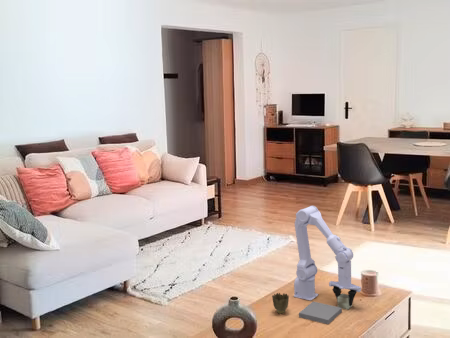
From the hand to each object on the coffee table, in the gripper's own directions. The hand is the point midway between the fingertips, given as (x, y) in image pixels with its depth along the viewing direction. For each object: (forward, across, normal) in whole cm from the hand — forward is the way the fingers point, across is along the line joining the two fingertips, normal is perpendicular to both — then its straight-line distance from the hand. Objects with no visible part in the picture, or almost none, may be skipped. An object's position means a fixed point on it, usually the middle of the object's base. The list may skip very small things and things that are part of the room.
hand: (345, 303), depth 237 cm
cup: (+2, -22, -20) cm, 30 cm away
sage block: (+1, 0, 0) cm, 1 cm away
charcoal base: (+1, -6, -13) cm, 14 cm away
